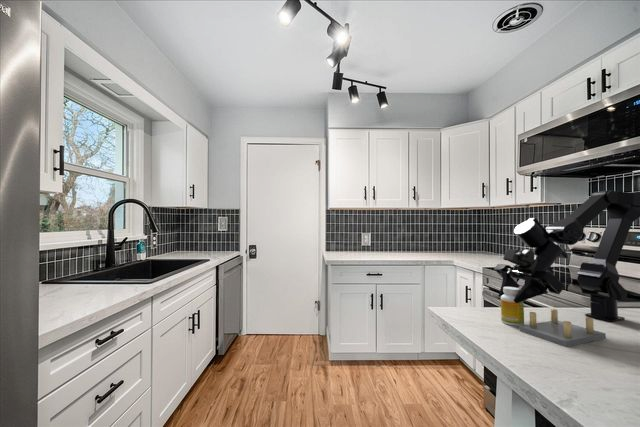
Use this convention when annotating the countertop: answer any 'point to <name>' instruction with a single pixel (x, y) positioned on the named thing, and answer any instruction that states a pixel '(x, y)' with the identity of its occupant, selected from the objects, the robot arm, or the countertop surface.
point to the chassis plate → (562, 330)
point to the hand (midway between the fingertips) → (507, 299)
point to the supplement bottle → (511, 307)
